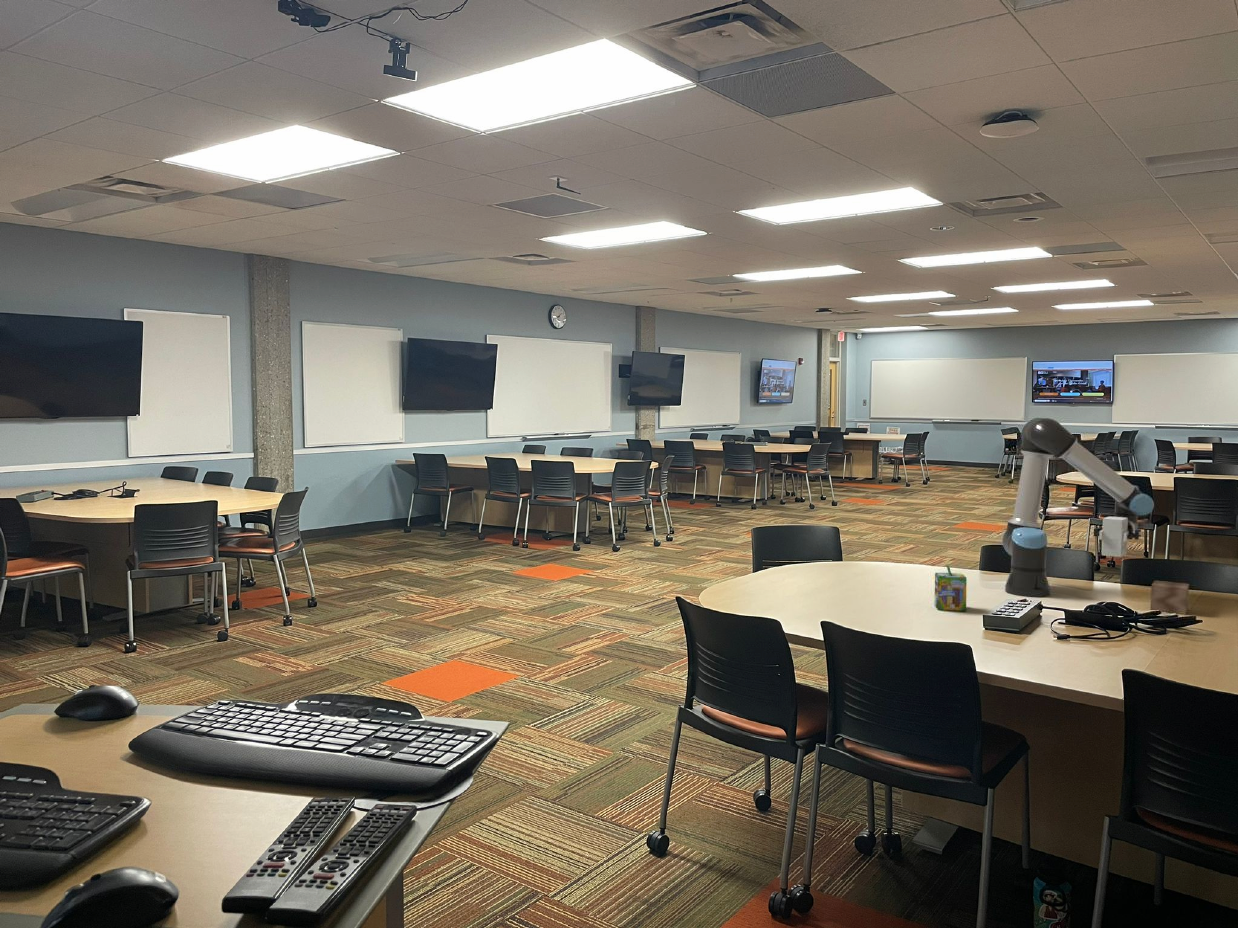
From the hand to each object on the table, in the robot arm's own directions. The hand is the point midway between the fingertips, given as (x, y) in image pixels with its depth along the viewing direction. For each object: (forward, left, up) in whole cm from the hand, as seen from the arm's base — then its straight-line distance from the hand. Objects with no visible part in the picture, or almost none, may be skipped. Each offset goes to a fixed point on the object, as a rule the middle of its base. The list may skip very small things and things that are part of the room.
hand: (1112, 536), depth 312 cm
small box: (0, +5, -7) cm, 9 cm away
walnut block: (+17, +5, -24) cm, 30 cm away
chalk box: (-43, -39, -24) cm, 63 cm away
